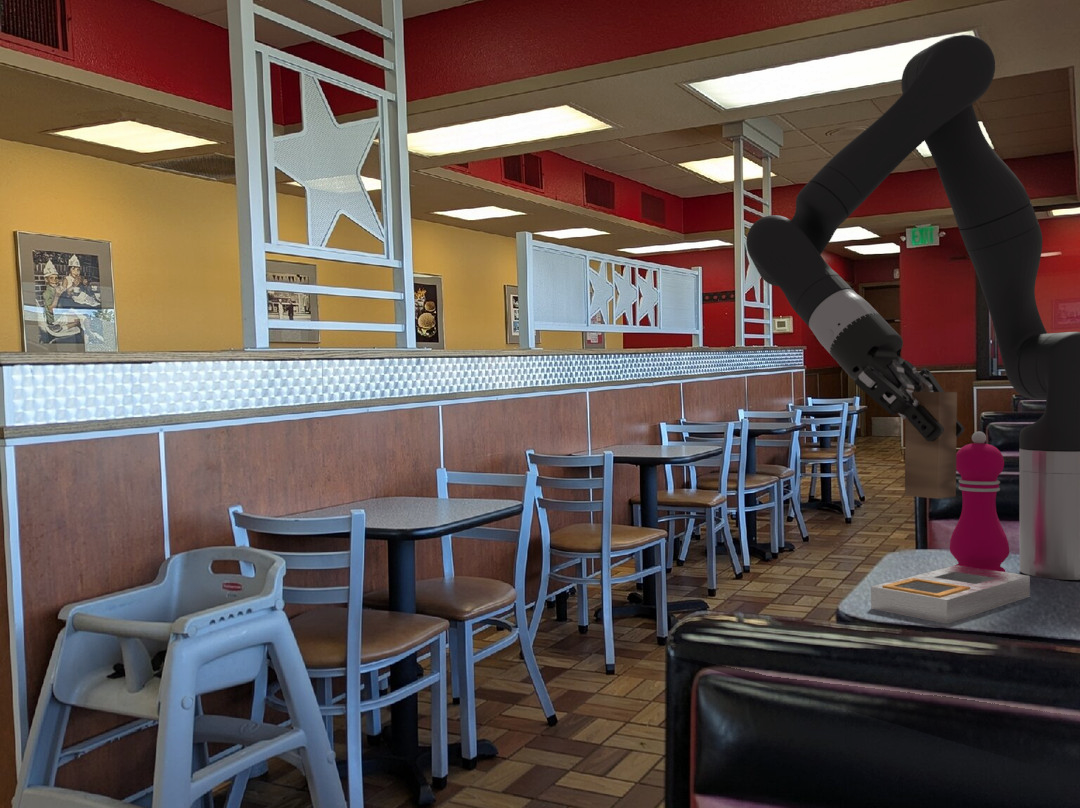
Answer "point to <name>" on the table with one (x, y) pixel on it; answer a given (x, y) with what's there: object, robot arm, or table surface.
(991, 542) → the pepper mill
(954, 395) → the peg
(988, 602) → the white socket base
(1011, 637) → the table surface
